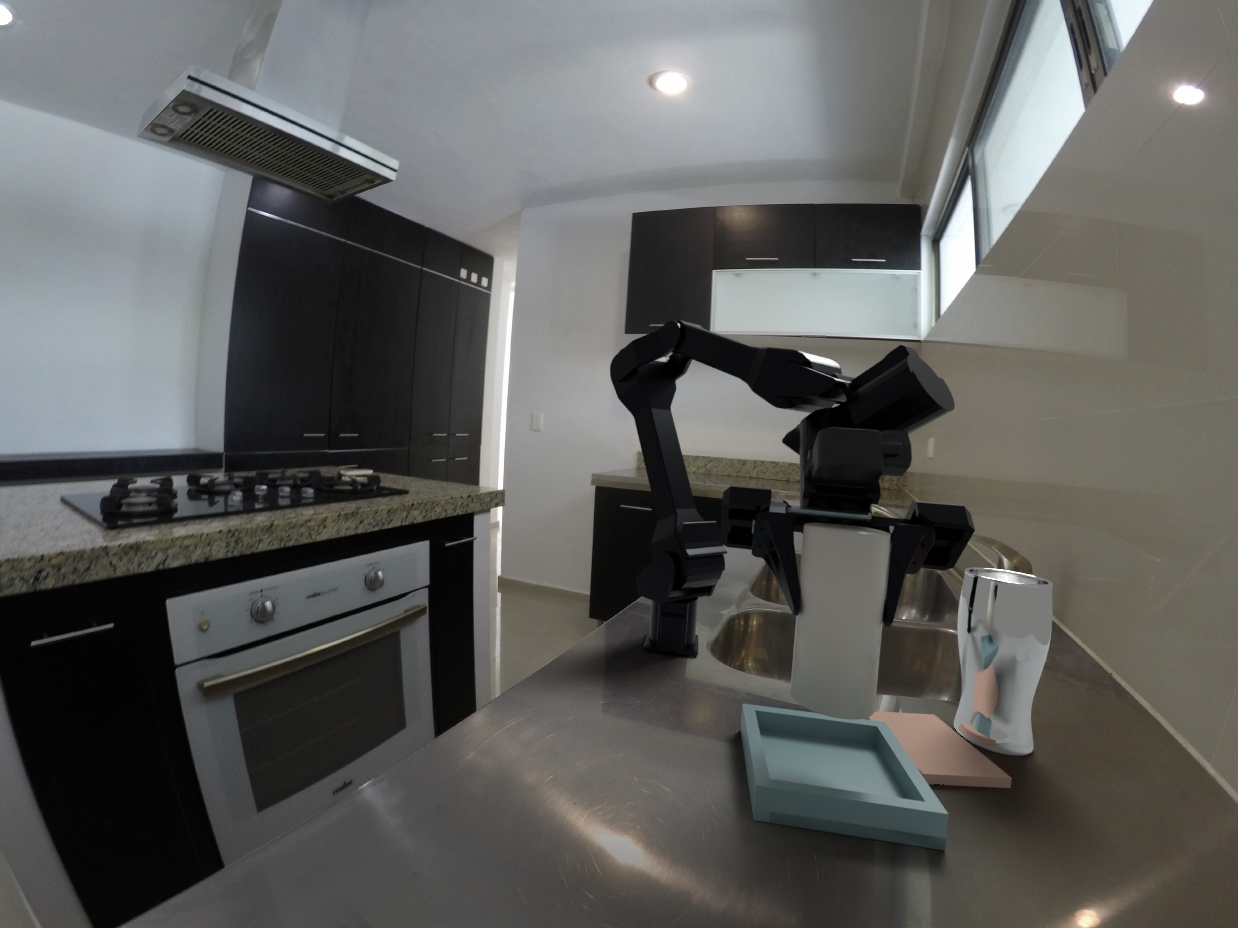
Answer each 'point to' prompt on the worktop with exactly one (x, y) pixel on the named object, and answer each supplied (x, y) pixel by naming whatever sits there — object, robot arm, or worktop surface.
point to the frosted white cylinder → (840, 619)
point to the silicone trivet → (942, 751)
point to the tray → (837, 778)
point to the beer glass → (1001, 656)
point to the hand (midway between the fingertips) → (841, 618)
